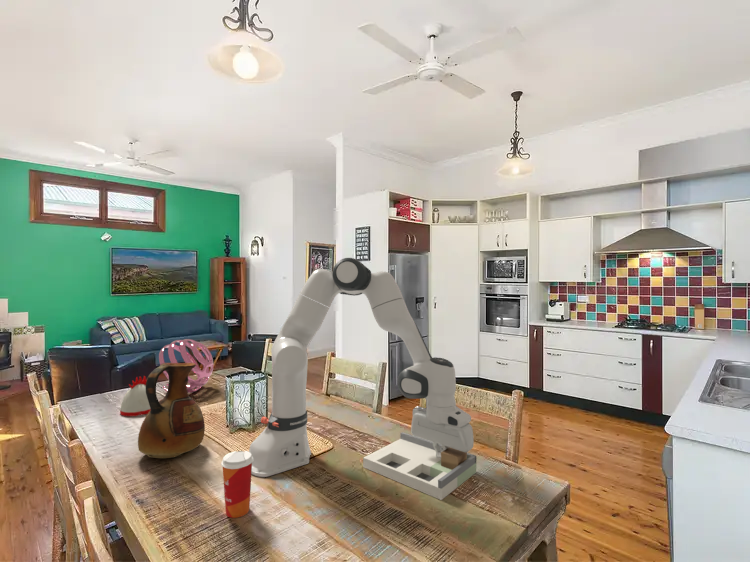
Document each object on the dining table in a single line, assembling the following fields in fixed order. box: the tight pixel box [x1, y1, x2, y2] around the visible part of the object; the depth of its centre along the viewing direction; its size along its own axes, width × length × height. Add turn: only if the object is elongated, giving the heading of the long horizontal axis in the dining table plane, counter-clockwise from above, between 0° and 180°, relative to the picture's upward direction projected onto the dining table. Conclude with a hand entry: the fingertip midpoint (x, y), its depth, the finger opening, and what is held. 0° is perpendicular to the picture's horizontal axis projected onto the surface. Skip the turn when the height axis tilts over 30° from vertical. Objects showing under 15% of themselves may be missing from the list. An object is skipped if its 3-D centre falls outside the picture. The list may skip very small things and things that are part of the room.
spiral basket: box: [158, 338, 214, 394], centre depth 206 cm, size 28×28×27 cm
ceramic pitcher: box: [137, 362, 206, 459], centre depth 136 cm, size 20×20×30 cm
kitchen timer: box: [119, 375, 151, 417], centre depth 177 cm, size 14×14×15 cm
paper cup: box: [220, 450, 253, 519], centre depth 101 cm, size 8×8×14 cm
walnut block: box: [441, 447, 468, 470], centre depth 120 cm, size 6×6×4 cm
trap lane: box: [362, 431, 477, 501], centre depth 123 cm, size 20×28×5 cm
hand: (440, 457), depth 123 cm, fingers closed
